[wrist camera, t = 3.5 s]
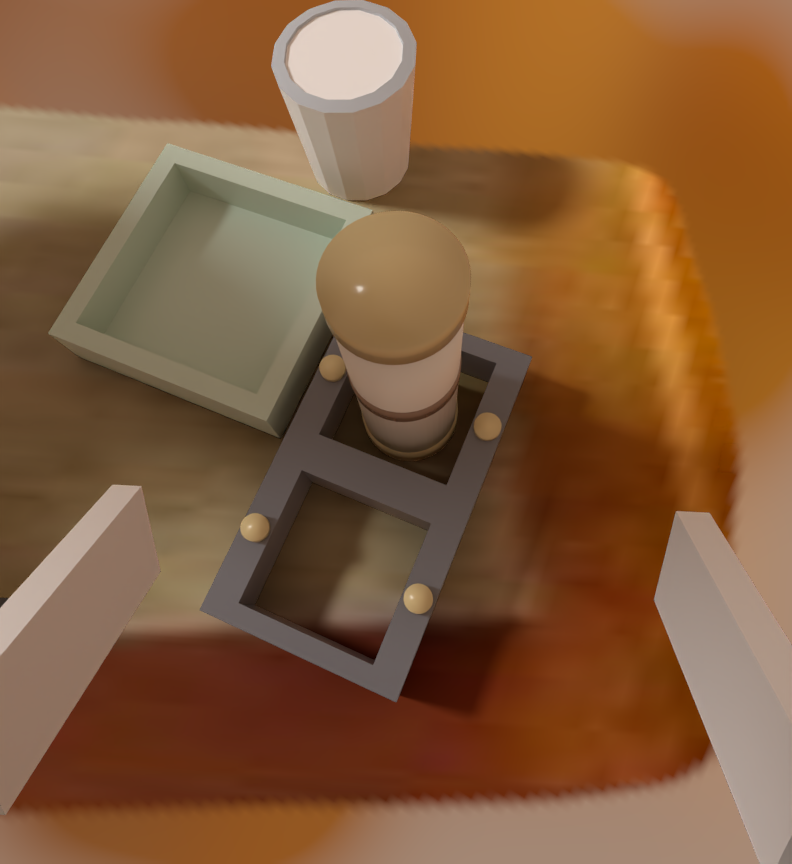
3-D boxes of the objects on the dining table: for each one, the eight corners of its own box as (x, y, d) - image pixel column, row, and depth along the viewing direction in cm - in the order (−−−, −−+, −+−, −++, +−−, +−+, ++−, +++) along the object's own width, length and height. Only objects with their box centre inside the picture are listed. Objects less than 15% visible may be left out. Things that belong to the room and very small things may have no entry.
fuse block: (219, 611, 29) (196, 609, 26) (360, 318, 33) (353, 289, 30) (399, 695, 27) (395, 703, 24) (524, 377, 31) (533, 353, 28)
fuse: (349, 440, 31) (290, 317, 18) (386, 360, 32) (353, 192, 19) (436, 475, 30) (436, 370, 17) (470, 391, 31) (493, 237, 19)
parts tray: (79, 356, 33) (47, 333, 30) (187, 178, 36) (167, 143, 33) (280, 438, 31) (266, 421, 28) (377, 242, 34) (372, 210, 31)
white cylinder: (432, 121, 36) (432, 6, 29) (404, 220, 34) (396, 122, 28) (320, 103, 37) (294, -12, 30) (286, 198, 35) (251, 98, 28)
